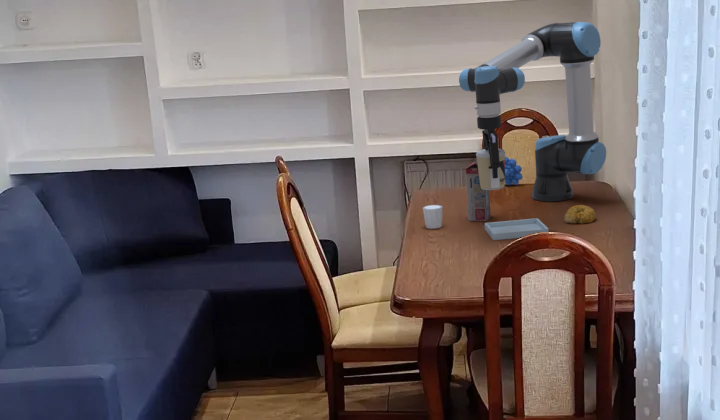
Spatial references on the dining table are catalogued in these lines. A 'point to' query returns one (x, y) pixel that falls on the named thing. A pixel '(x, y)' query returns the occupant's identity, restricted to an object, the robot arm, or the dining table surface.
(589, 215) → the bagel
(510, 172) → the grapes
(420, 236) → the dining table surface
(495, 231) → the tray
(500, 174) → the coffee cup
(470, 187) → the juice carton
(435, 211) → the white tapered cylinder
